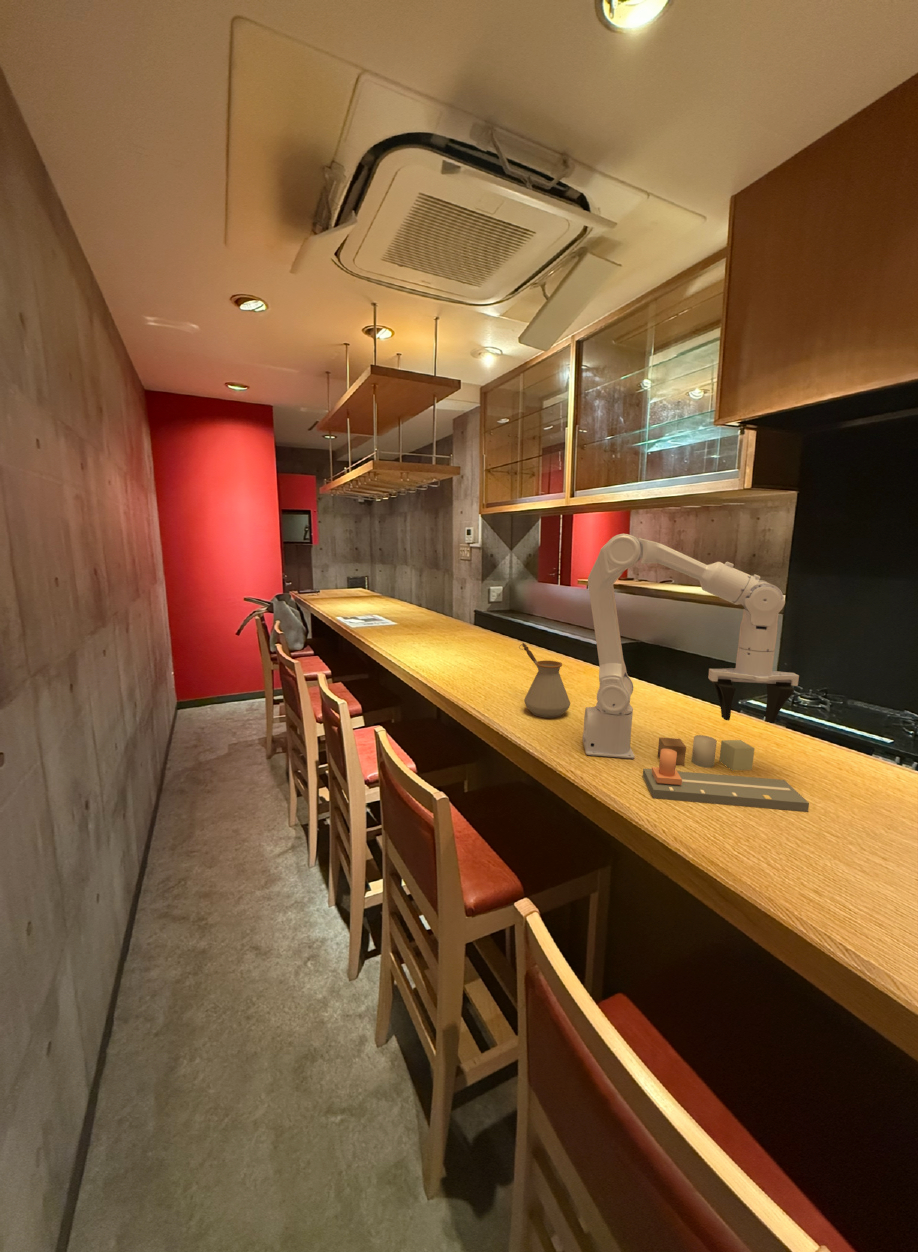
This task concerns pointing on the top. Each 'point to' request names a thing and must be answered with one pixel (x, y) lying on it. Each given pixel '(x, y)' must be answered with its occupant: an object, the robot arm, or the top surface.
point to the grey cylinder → (704, 751)
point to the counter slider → (667, 768)
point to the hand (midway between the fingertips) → (747, 720)
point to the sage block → (736, 754)
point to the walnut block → (673, 748)
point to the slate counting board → (729, 791)
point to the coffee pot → (546, 689)
